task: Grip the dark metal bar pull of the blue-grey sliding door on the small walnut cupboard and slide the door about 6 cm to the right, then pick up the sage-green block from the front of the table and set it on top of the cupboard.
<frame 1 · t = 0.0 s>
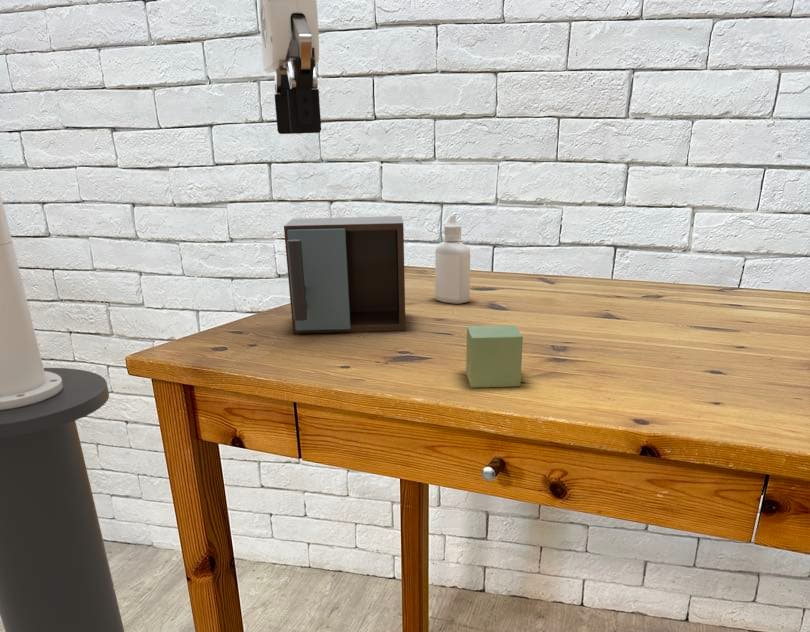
hand: (298, 133, 85), 23 cm above the table, tool pointing down, fingers open, 9 cm apart
closet: (350, 324, 103), on the table
eye dropper bottle: (452, 302, 116), on the table
block: (492, 380, 79), on the table
closet door: (318, 284, 93), point 7 cm above the table, slide at 0.0 cm
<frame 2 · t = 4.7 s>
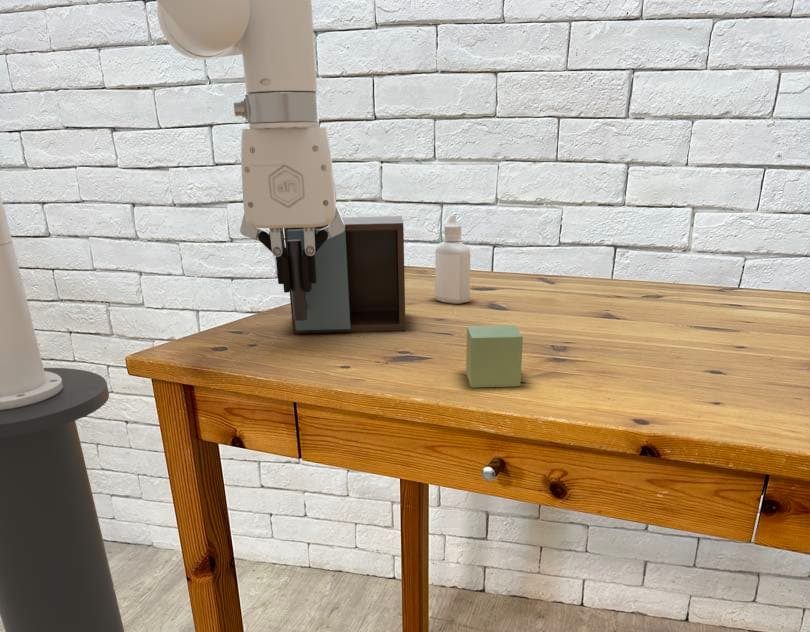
hand: (298, 289, 91), 7 cm above the table, tool pointing down, fingers closed on closet door
closet door: (318, 284, 93), point 7 cm above the table, slide at 0.0 cm, touching gripper
everything else where it was.
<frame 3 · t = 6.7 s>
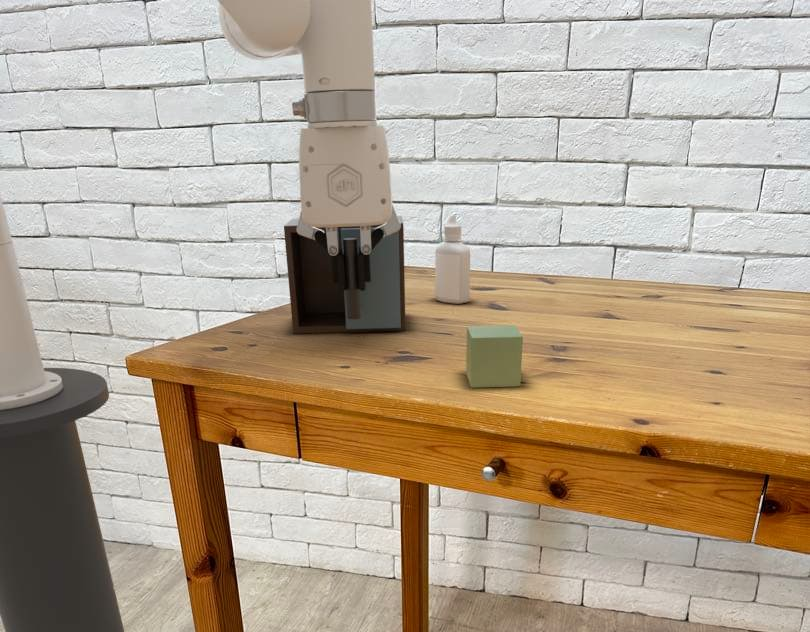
hand: (352, 287, 91), 7 cm above the table, tool pointing down, fingers closed on closet door
closet door: (371, 283, 93), point 7 cm above the table, slide at 6.5 cm, touching gripper
everything else where it was.
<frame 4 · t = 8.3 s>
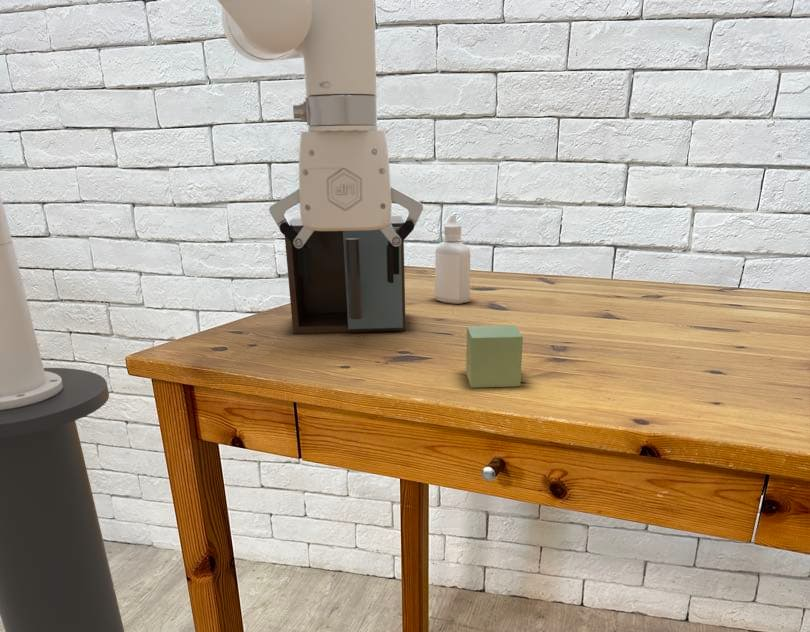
hand: (349, 281, 90), 7 cm above the table, tool pointing down, fingers open, 9 cm apart
closet door: (373, 283, 93), point 7 cm above the table, slide at 6.7 cm
everything else where it was.
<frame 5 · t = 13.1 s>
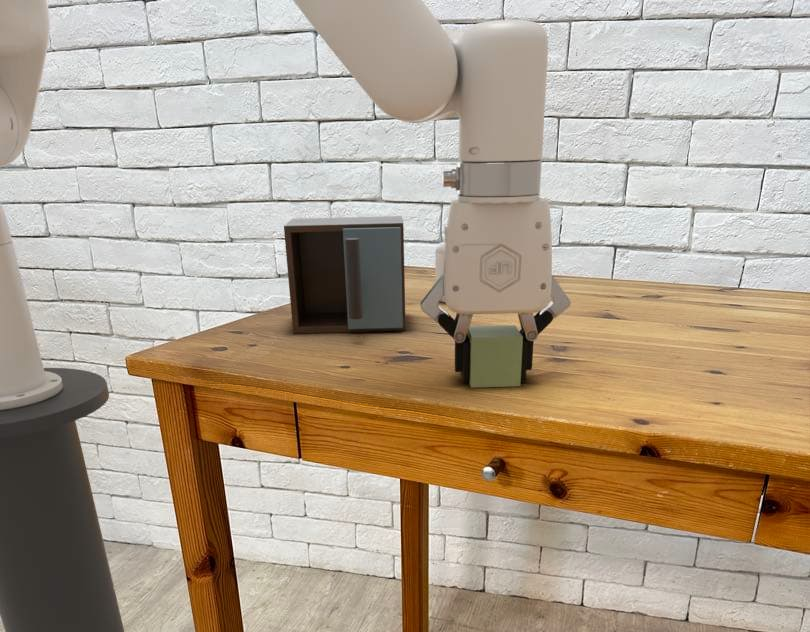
hand: (492, 376, 79), 0 cm above the table, tool pointing down, fingers closed on block, 5 cm apart
block: (492, 380, 79), on the table, touching gripper
everything else where it was.
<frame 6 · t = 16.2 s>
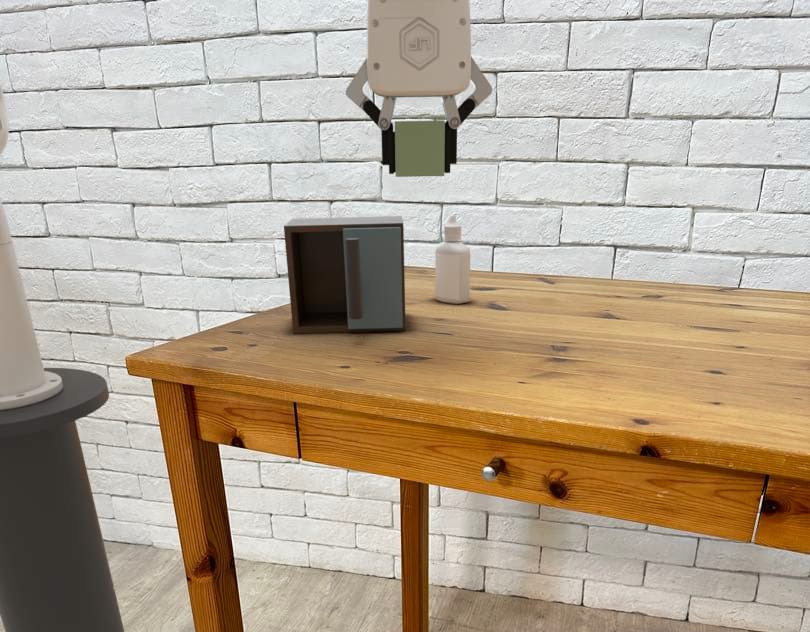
hand: (419, 170, 81), 19 cm above the table, tool pointing down, fingers closed on block, 5 cm apart
block: (419, 175, 81), point 19 cm above the table, touching gripper
everything else where it was.
when the fingers open (13 cm above the table, at t = 19.7 s): block stays where it is, resting on closet.
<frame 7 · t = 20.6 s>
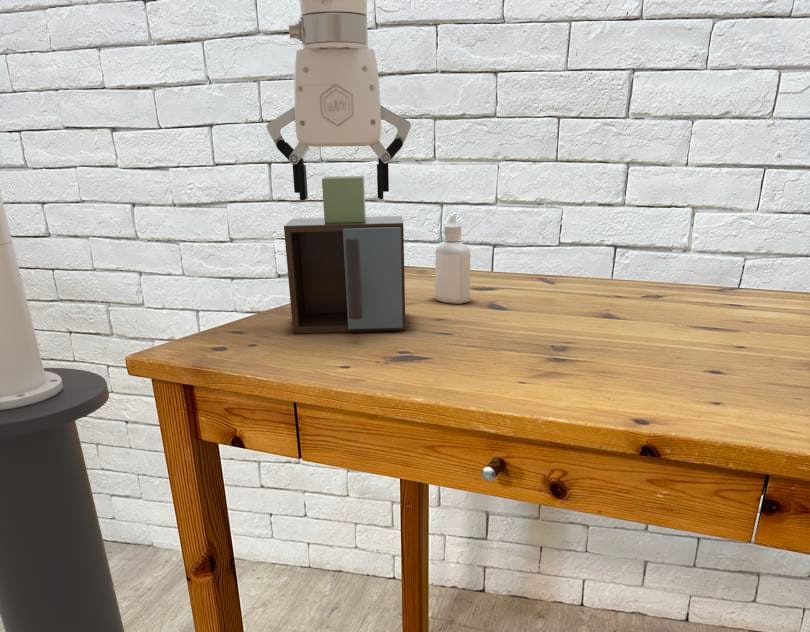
hand: (342, 199, 96), 16 cm above the table, tool pointing down, fingers open, 9 cm apart
block: (345, 220, 97), point 13 cm above the table, touching closet
everything else where it was.
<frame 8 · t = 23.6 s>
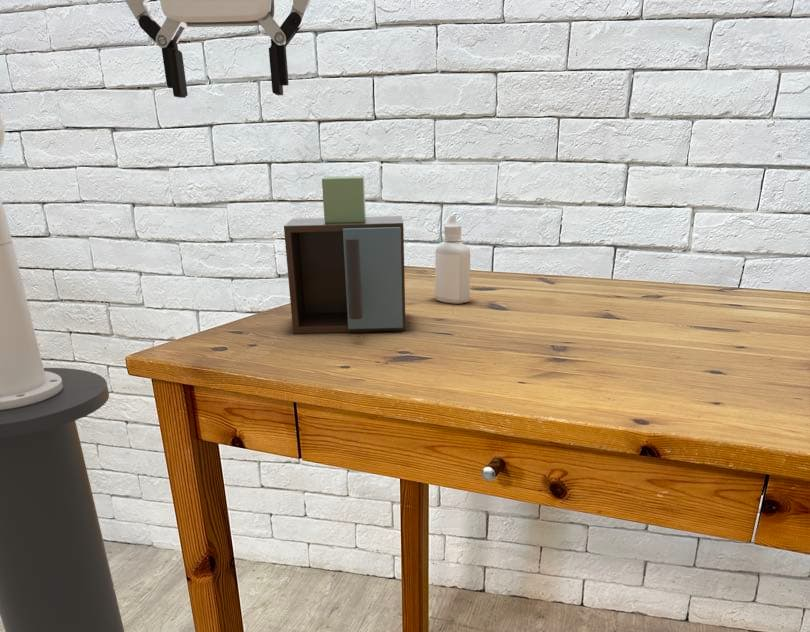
hand: (229, 95, 76), 26 cm above the table, tool pointing down, fingers open, 9 cm apart
nothing on the table moved.
at the end: closet door slide at 6.7 cm; block inside the target area on the closet (0.1 cm from its centre), point 13.0 cm above the closet's base; block tilted 0° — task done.
